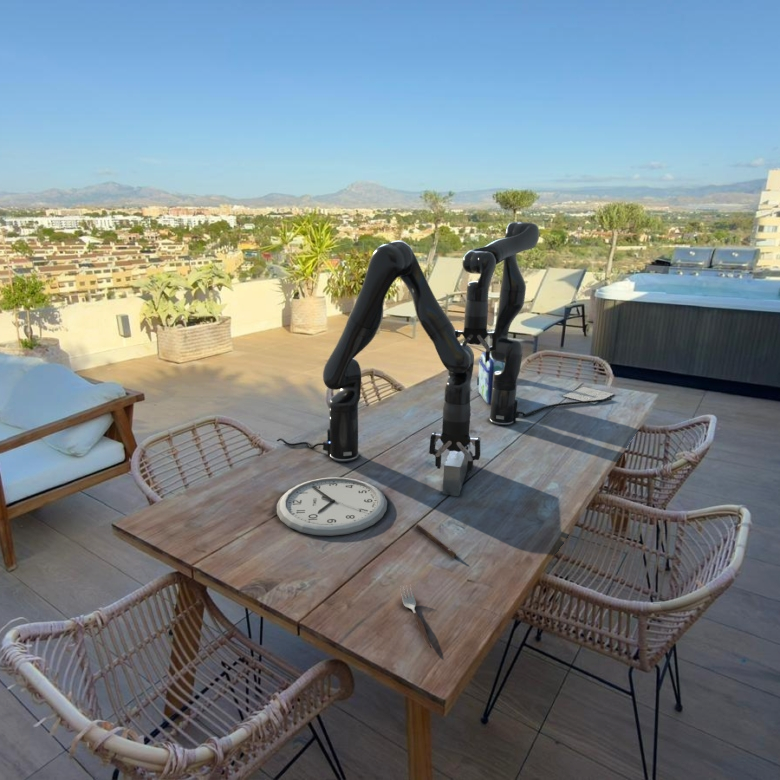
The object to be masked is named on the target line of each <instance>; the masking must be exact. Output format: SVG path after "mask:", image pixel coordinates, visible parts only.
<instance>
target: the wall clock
mask: <svg viewBox="0 0 780 780" xmlns="http://www.w3.org/2000/svg"><path fill="white" fill-rule="evenodd" d="M387 509H388V500H387V498H386V496H385V494H384V493H383V492H382V491H381V490H380V489H379V488H377V487H376V486H374V485H372V484H371V483H369V482H365V481H362V480H359V479H355V478H349V477H338V476H337V477H335V476H333V477H332V476H331V477H322V478H317V479H312V480H307V481H305V482H302V483H299V484H297V485H295V486H293V487H292V488H290V489H288V490H287V491H286V492H285V493H284V494H283V495H281V496H280V498H279V499H278V502H277V503H276V515H277V517H278V518H279V520H280V521H281V522H282V523H283V524H285V525H286V526H287V527H288V528H290V529H293V530H295V531H297V532H299V533H303V534H308V535H312V536H327V537H328V536H329V537H331V536H332V537H333V536H342V535H350V534H352V533H356V532H361V531H363V530H366V529H368V528H369V527H372V526H373V525H375V524H376V523H378V522H379V521H380V520H381V519H382V518H383V517H384V516H385V514H386V512H387Z"/></svg>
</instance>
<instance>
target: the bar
mask: <svg viewBox="0 0 780 780" xmlns="http://www.w3.org/2000/svg"><path fill="white" fill-rule="evenodd" d="M470 438H472V437H471V436H470ZM471 444H472V443H471V442H470V443H469V444H468V447H469V448H470V449H471ZM448 452H449V453H448V455H447V457H446V459H445V460H446V461H445V462H444V464H443V481H442V495H446V496H453V497H460V494H461V491H462V488H463V484H464V482H465V479H466V475H467V463H468V458H467V457H466V456H465V455H464V454H463V452H462V451H460V452H456V451H448Z"/></svg>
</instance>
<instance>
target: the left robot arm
mask: <svg viewBox="0 0 780 780" xmlns="http://www.w3.org/2000/svg"><path fill="white" fill-rule="evenodd" d="M397 279H400V280H401V281H402V282H403V284H404V285H405V286H406V288H407V290H408V292H409V293H410V296H411V300H412V303H413V308H414V311H415V315H416V318H417V320H418V322H419V324H420V325H421V327H422V329H423V330H424V332H425V334H426V335H427V337H428V338H429V339H430V340H431V342H432V344H433V345H434V348H435V350H436V353H437V355H438V357H439V360H440V362H441V363H442V365H443V367H444V368H445V369H446V370H447V371H448V375H447V379H446V382H445V385H444V399H443V407H442V426H441V427H442V430H441V433H437V432H436V431H433V432H432V433H431V434H430V438H429V439H430V440H429V449H428V454H430V455H433V456H435V460H434V461H435V462H434V464H435V465H434V466H435V467H436V469H439V470H440V469H441V467H442V454H443V453H444V452H445V451H448V452H450V451H456V452H460V451H462V452H463V454H464V455H465V456H466V457H467V458H468V463H467V472H466V474H470V473H471V472H472V471H473V469H474V461H479V460H480V457H481V437H479V436H477V437H471V436H470V429H471V428H470V426H471V415H472V414H471V393H472V392H471V391H472V390H471V389H472V388H471V387H472V385H471V384H472V378H473V373H474V366H475V365H474V364H475V354H474V351H473V349H472V348H471V346H469V345H468V344H461V342H460V341H459V339H457V337H456V335H455V330H456V329H455V326H454V324H453V323H452V321H451V320H450V318H449V317H448V316H447V314H446V312H445V311H444V310H443V308H442V306H441V305H440V303H439V302H438V300H437V298H436V297H435V294H434V293H433V290H432V288H431V287H430V285H429V282H428V280H427V278H426V276H425V274H424V272H423V269H422V267H421V265H420V264H419V261H418V259H417V256H416V255H415V253H414V251H413V249H412V247H411V246H410V245H409V244H408V243H406V242H405V241H404V240H394V241H390V242H388V243H385V244H381V245H380V246H378V247H377V248H376V249H375V250H374V252H373V253H372V255H371V257H370V260H369V263H368V266H367V270H366V273H365V276H364V280H363V283H362V286H361V289H360V291H359V293H358V295H357V297H356V300H355V302H354V304H353V307H352V308H351V311H350V313H349V316H348V317H347V320H346V322H345V326H344V328H343V330H342V333H340V337H339V338H338V340H337V344H336V345H335V347H334V349H333V350H332V353H331V354H330V355H329V358H328V359H327V361H326V363H325V364H324V367H323V371H322V381H323V383H324V385H325V387H326V388H327V389H329V390H334V391H337V390H338V391H337V392H336V393H335V394H334V395H333V396H331V398H330V399H329V402H328V410H329V411H328V412H329V427H328V429H327V440H325V441H323V442H318V443H315V444H314V445H312V446H311V444H310V443H309V442H307V441H300V442H296V443H291V442H288V441H286V440H285V439H284V438H277V439H276V442H279V441H281V442H283V443H284V444H285V445H287V446H290V447H294V446H295V447H296V446H299V445H300V446H301V445H307V446H308V448H309V449H314V448H316V447H319V446H322V450H323V451H325V452H327V457H329V458H330V460H332V461H334V462H338V463H350V462H353V461H356V460H357V459H358V458H359V403H360V401H361V400H360V399H361V392H362V390H361V389H362V369H361V365H360V363H359V362H358V360H357V359H355V357H356V356H358V355H359V353H361V352H362V351H363V350H365V348H366V347H367V346H369V344H370V343H371V342H372V341H373V340H374V339H375V337H376V335H377V333H378V331H379V329H380V326H381V325H382V322H383V319H384V302H385V299H386V296H387V294H388V292H389V290H390V288H391V287H392V285H393V284H394V282H395V281H396V280H397ZM470 437H471V438H470ZM439 440H440V441H441V443H442V445H441V446H440V447H439V448H438V449H437V448H436V443H437V442H438V441H439ZM470 442H471V444H472V446H473V447H474V453H473V452H472V450H471V447H470V448H469V447H468V444H469V443H470Z"/></svg>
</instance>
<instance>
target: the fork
mask: <svg viewBox="0 0 780 780" xmlns="http://www.w3.org/2000/svg"><path fill="white" fill-rule="evenodd" d="M402 587H403V590H402ZM399 588H400V594H401V599H402V604H403V606H404V607H405V608H407V609H410V610H411V611H412V613H413V617H414V619H415V623H416V625H417V628H418V630H419V632H420V633H421V635H422V636H423V638H424V640H425V643H427V645H428V647H429V648H430V649H431V648H432V646H431V643H430V640H429V636H428V633H427V630H426V627H425V624H424V623H423V621H422V619H421V618H420V616H419V615H418V613H417V612H416V609H415V608H416V606H417V601H416V599H415V595H414V592H413V589H412V586H411V584H409V587H408V586H406V589H407V590H406V589H405V585H403V586H401V585H399ZM409 588H410V591H409ZM406 591H407V592H406ZM403 592H404V594H403Z"/></svg>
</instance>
